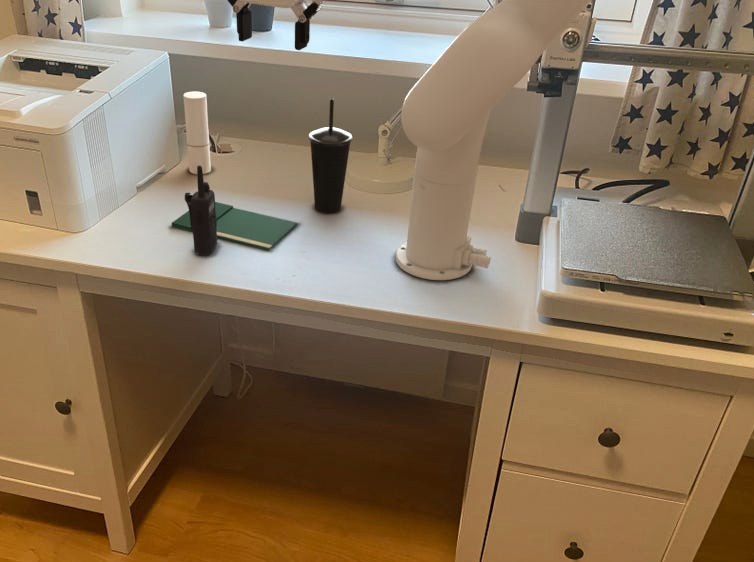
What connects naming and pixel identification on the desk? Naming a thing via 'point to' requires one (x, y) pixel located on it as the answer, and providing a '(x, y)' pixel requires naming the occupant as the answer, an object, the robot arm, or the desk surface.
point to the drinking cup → (329, 164)
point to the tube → (197, 131)
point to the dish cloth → (244, 226)
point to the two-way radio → (202, 216)
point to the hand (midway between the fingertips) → (272, 43)
